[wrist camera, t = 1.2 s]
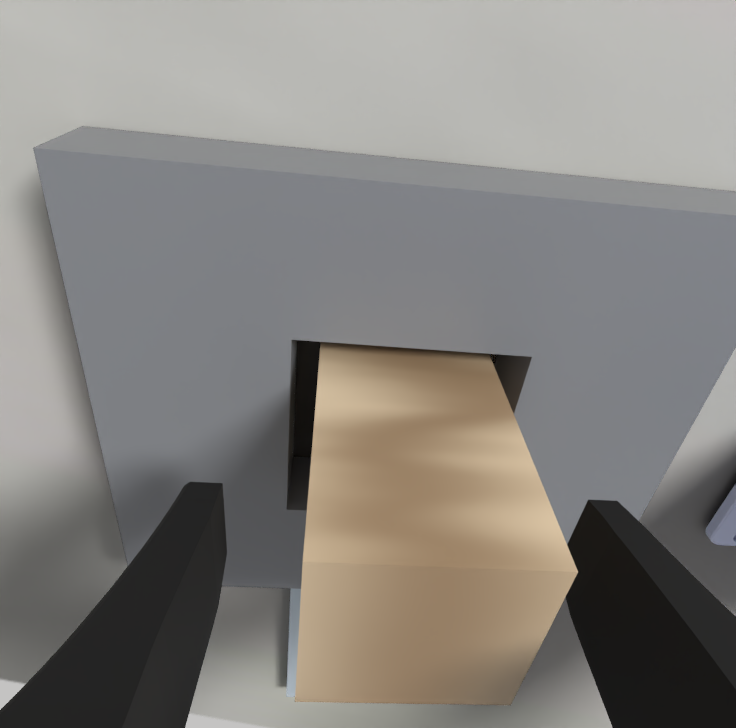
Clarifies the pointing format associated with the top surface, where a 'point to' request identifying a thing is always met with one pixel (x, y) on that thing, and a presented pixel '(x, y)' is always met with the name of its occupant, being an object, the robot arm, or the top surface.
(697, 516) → the top surface
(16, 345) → the top surface
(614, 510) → the robot arm
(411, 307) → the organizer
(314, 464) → the oak block
